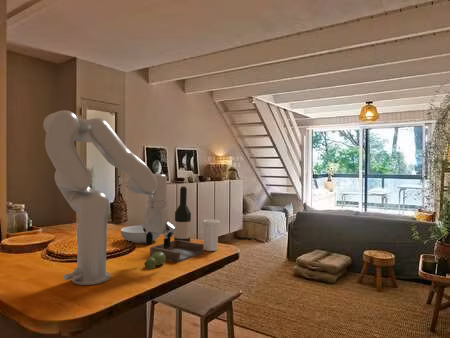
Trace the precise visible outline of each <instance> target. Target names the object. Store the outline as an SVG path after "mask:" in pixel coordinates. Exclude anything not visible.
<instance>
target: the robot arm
mask: <svg viewBox="0 0 450 338" xmlns="http://www.w3.org/2000/svg"><path fill="white" fill-rule="evenodd" d="M42 123H43V130H44V131H45V138H44V140H45V141H44V142H45V143H44V146H45V150H46V154H47V156H48V158H49V159H50V161H51V163H52V164H53V167H54V168H55V172H54V182H55V184H56V186H57V188H58V189H59V191H60V192H61V194H62V196H63V197H64V199H65V200H66V202H67V203H68V204H69V206H70V207H71V209H72V210H73V211H74V212H75V213H77V214H79V215H80V216H79V219H78V226H77V251H76V252H77V256H76V257H77V258H76V259H77V261H76V263H77V264H76V267H75V268H73V271H72V272H71V273H65V274H64V275H63V280H64V281H68V280H71V282H72V283H73V284H75V285H80V286H91V285H92V286H93V285H98V284H102V283H105V282H107V281H109V280H110V278H111V273H110V272H108V271H107V244H108V243H107V237H108V236H107V235H108V233H107V231H108V229H107V227H108V220H109V213H110V205H111V204H110V201H109V200H110V199H109V197H108V196H107V195H106V194H105V193H104V192H102V191H100V190H98V189H97V190H96V189H92V188H91V184H92V180H93V179H92V173H91V172H90V170H89V169H88V167H87V166H86V164H85V162H84V161H83V159H82V158H81V156H80V154H79V152H78V149H77V148H76V147H75V142H81V143H89V144H91V143H92V144H93V145H94V147H95V148H96V149H97V150H98V152H100V154H101V155H102V156H103V158H104V159H105V160H106V161H107V163H109V164H110V165H111V166H112V167H115V168H117V169H119V170H121V171H123V172H124V173H126V175H128V176H129V177H128V178H127V181H126V186H127V189H128V190H129V191H130V192H132V193H135V194H141V195H146V196H147V206H148V207H146V210H145V215H144V216H145V219H144V222H143V223H141V225H142V227H143V231H144V232H145V235H146V243H145V245H147V246H149V245H152V244H153V243H154V242H153V241H154V240H153V235H152V234H151V233H158V234H160V235H163V236H164V238H163V244H164V248H165V249H166V248H169V247H170V242H171V238H172V237H173V235H174V231H175V225H173V224H171V221H170V220H171V219H170V211H169V207H168V177H167V174H164V173H153V172H152V170H151V169H150V168H149V166H147V164H146V163H145V162H144V161H143V160H141V159H140V158H139V156H137V155H136V154H135V153H134V152H132V151H131V150H130V149H129V148H128V147H127V146H126V145H125V143H124V142H123V141H122V140H121V139H120V137H119V136H118V135H117V133H116V132H115V130H113V128H112V127H111V125H110V123H108V122H107V121H106V120H105V119H103V118H101V117H100V118H99V117H98V118H96V117H95V118H90V119H85V118H79V117H78V116H77V115H76V114H75V113H74V112H72V111H70V110H65V109H64V110H59V111H55V112H53V113H50V114H49V115H47V116H46V117H45V118H44V120H43V122H42Z"/></svg>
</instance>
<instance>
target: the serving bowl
mask: <svg viewBox="0 0 450 338" xmlns="http://www.w3.org/2000/svg"><path fill="white" fill-rule="evenodd" d="M120 234H121V237H122V238H123V239H124V240H125V241H127V240H128V241H127V242H129V241H132V242H131V243H133V242H134V244H146V235H145V232H144V231H143V227H142V224H140V225H132V226H131V225H130V226H125V227H123V228H121V229H120ZM151 234H152V235H153V241H156V240H157V239H158V238H159V237H160V235H161V234H158V233H151Z"/></svg>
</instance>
